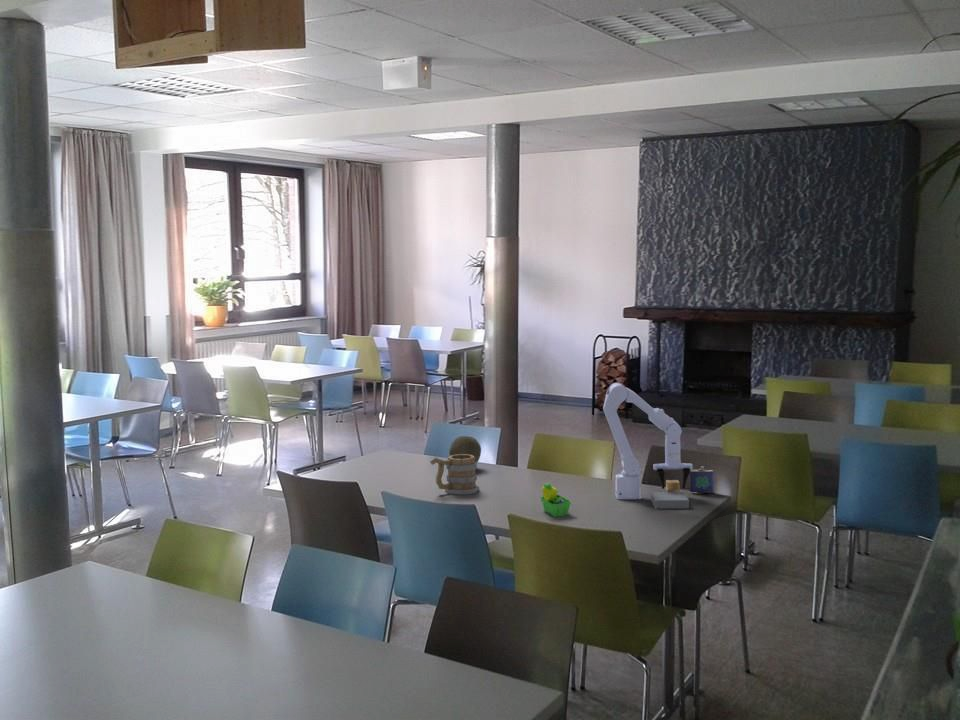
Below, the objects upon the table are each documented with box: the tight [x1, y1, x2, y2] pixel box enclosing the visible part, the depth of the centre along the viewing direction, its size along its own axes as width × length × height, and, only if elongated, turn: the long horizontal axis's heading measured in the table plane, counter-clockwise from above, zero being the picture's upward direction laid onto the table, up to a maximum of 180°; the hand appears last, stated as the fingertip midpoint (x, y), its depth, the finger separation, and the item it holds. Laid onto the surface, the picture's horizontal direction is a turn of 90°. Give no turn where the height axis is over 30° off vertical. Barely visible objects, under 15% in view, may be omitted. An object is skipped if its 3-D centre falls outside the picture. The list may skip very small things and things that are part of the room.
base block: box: [650, 491, 690, 509], centre depth 326 cm, size 12×12×3 cm
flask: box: [689, 465, 715, 495], centre depth 341 cm, size 9×3×11 cm, turn 87°
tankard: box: [429, 454, 480, 496], centre depth 351 cm, size 20×13×15 cm, turn 115°
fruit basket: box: [540, 482, 572, 517], centre depth 317 cm, size 11×9×11 cm
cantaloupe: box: [448, 435, 482, 464], centre depth 392 cm, size 14×14×15 cm
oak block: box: [665, 479, 681, 492], centre depth 337 cm, size 4×4×6 cm
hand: (673, 487), depth 336 cm, fingers open, 7 cm apart
